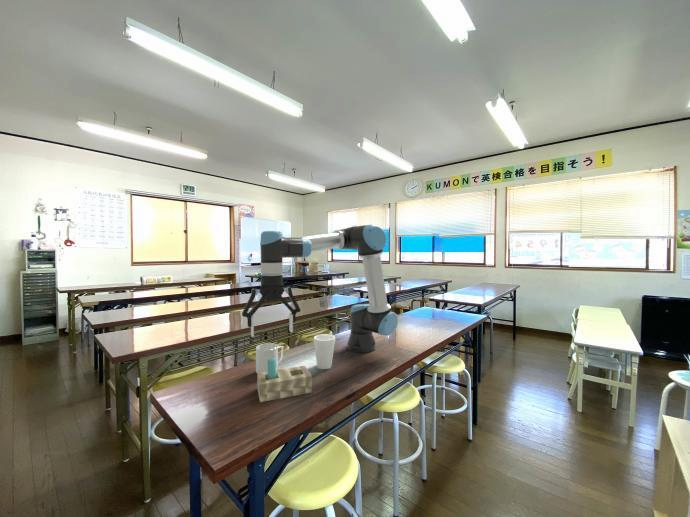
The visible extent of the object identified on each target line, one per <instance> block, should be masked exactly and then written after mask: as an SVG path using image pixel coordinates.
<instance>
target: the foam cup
mask: <svg viewBox="0 0 690 517" xmlns="http://www.w3.org/2000/svg"><path fill="white" fill-rule="evenodd" d="M313 344H314V352H315V360H316V367H317V369H319V370H329V369H331V368H332V364H333V357H334V349H335V344H336V336H335V335H334V334H333V335H332V334H327V333H325V334H322V333H321V334H317V335H314V337H313Z"/></svg>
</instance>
